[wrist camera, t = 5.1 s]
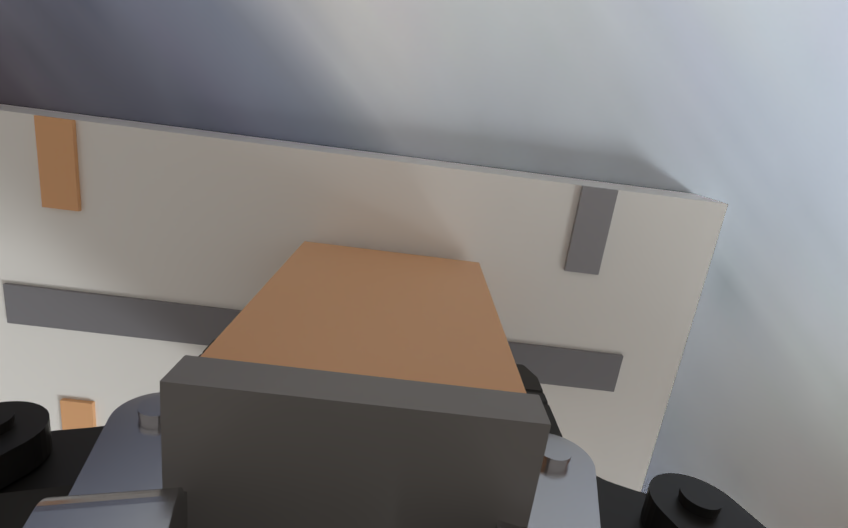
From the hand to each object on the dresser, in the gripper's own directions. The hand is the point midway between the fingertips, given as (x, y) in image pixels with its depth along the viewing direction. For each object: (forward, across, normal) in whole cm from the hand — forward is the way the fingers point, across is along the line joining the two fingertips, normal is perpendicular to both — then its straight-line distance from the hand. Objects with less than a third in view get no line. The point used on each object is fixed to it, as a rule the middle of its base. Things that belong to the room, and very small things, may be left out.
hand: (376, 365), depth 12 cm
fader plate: (+3, +2, 0) cm, 3 cm away
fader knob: (+1, 0, 0) cm, 1 cm away
